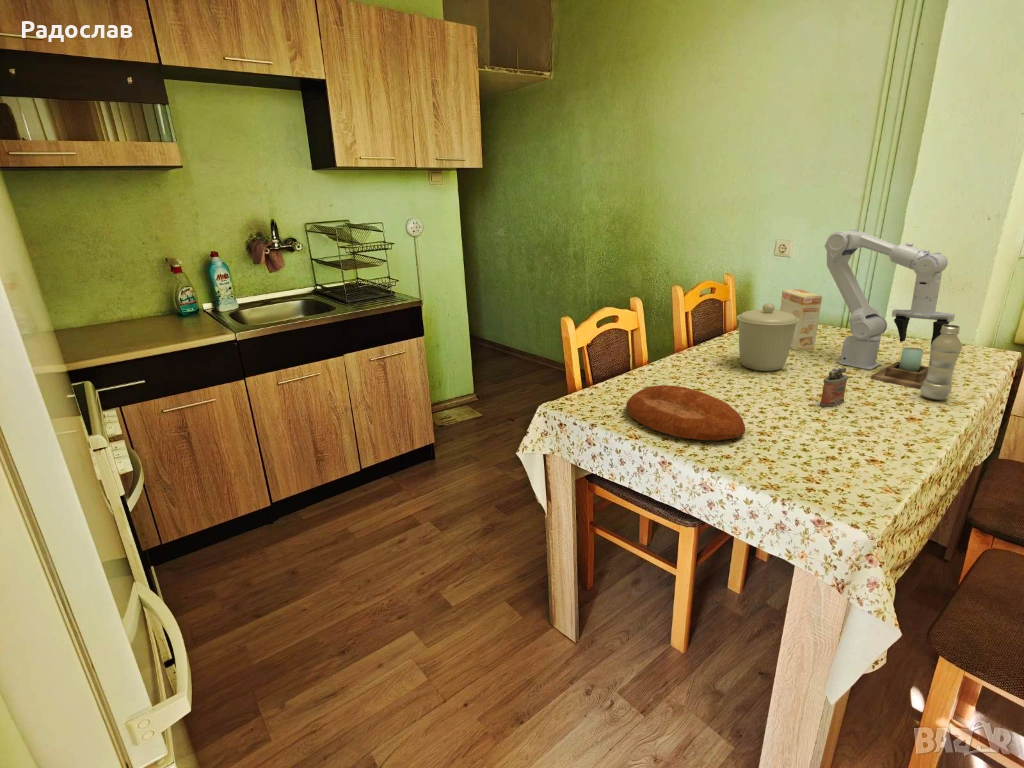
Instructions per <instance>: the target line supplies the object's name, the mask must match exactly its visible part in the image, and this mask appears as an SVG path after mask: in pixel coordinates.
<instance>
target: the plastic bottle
mask: <svg viewBox="0 0 1024 768" xmlns="http://www.w3.org/2000/svg"><path fill="white" fill-rule="evenodd" d="M960 329H961V327H960V326H959V325H956V324H948V325H942V328H941V331H940V332H941V335H940V336H938V337H937V338H936V339H935V340H934V341H933V342H932V344H931V343H930V351H929V352H930V353H929V360H928V366H927V367H928V370H927V373H926V376H925V379H924V381H923V383H922V385H921V389H920V394H921V396H922V397H924V398H926V399H930V400H935V401H944V400H947V399H948V398H949V397H950V395H951V393H952V381H953V375H954V371H955V367H956V364H957V361H958V358H959V356H960V354H961V351H962V350H963V345H962V342H961V340H960V338H959V337H958V335H960Z"/></svg>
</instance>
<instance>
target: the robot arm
mask: <svg viewBox="0 0 1024 768" xmlns="http://www.w3.org/2000/svg"><path fill="white" fill-rule="evenodd" d="M824 248H825V250H826V267H827V268H828V271H829V273H830V275H831V277H832V279H833V281H834V283H835V284H836V287H837V288H838V291H839V292H840V294H841V296H842V299H843V300H844V302H845V304H846V306H847V309H848V310H849V313H850V316H849V319H848V322H849V324H850V333H851V334H852V335H847V336H846V337H845V338H844V341H843V342H842V347H841V352H840V353H841V354H840V359H839V362H838V364H839V365H844V366H849V367H854V368H859V369H862V370H863V369H865V370H870V371H871V370H873V369H875V368H877V367H879V366H881V363H880V362H877V359H878V355H879V350H880V349H879V348H880V344H881V340H882V334H884V333H885V332H886V330H887V329H888V322H887V320H886V319H885V317H883V316H882V315H880V314H879V312H878V310H877V309H875V308H873V307H872V306H871V305H870V303H869V302H868V299H867V297H866V295H865V294H864V292H863V290H862V288H861V286H860V283H859V282H858V280H857V277H856V276H855V274H854V272H853V270H852V268H851V266H850V265H849V261H850V260H851V258H852V256H853V255H854V254H855V252H856V251H857V250H858V249H860V248H864V249H867V250H870V251H873V252H877V253H880V254H882V255H885V256H887V257H889V260H890V262H892V263H893V264H897V265H899V266H902V267H904V268H907V269H909V270H912V271H914V273H915V275H916V277H915V282H914V288H913V295H912V300H911V306H910V309H895V308H894V309H893V310H892V312H891V317H895V318H894V319H893V322H894V323H895V326H896V328H897V331H898V336H899V337H898V338H899V342H900V343H901V342H903V343H904V342H905V341H906V338H907V330H908V327H909V322H910V319H921V320H922V319H923V320H932V321H933V323H932V337H931V340H930V345H931V344H932V342H933V341H934V340H935V339H936V338H937V337H938V336H940V335H941V332H940V331H941V328H942V325H950V323H952V322H954V321H955V316H956V314H955V313H949V312H948V313H947V312H942V311H941V312H940V311H936V309H937V304H938V298H939V294H940V287H941V283H942V281H941V280H942V274H943V271H945V270H946V268H947V267H948V264H949V262H948V258H947V257H946V256H945V255H943V254H942V253H941V252H934V253H933V252H932V253H931V250H930V249H921V248H918V247H915V246H914V243H911V242H907V243H904V242H903V243H900V244H897V245H896V244H893V243H891V242H889V241H886V240H884V239H881V238H879V237H877V236H875V235H872V234H869V233H867V232H865V231H859V230H858V229H849V230H844V231H835V232H833V233H831V234H830V235H829V236H828V237H827V240H826V242H825V244H824Z"/></svg>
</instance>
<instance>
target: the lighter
mask: <svg viewBox="0 0 1024 768" xmlns="http://www.w3.org/2000/svg"><path fill="white" fill-rule="evenodd" d="M847 369H848V368H847V366H846V367H845V366H841V367H838V368H835V367H834V368H832V370H829V371H828V372H829V373H828V376H826V377H824V378H823V387H822V393H821V398H820V399H821V400H820V401H819V407H821V406H822V407H821V408H824V407H831V408H834V407H833V406H835V407H838V406H837V405H839V406H841V405H843V404H844V403H845V399H844V398H845V394H846V386H847V382H848V380H849V375H847V374H844V373H847ZM842 403H843V404H842ZM840 404H841V405H840Z"/></svg>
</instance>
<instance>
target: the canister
mask: <svg viewBox="0 0 1024 768" xmlns="http://www.w3.org/2000/svg"><path fill="white" fill-rule="evenodd" d="M736 319H737V320H738V351H739V354H738V355H739V360H740V363H741V365H742V366H744V367H745V368H747V369H750V370H752V371H759V372H772V371H779V370H780V369H782V368H783V367H785V365H786V363H787V359H788V357H789V353H790V349H791V348H790V346H791V343H792V339H793V335H794V331H795V327H796V323H798V322H799V318H797V317H795V316H794V315H793V314H791V313H788V312H784V311H780V310H778V309H777V310H776V307H775V305H774V304H773V303H769V302H768V303H765V304H763V305H762V309H751V310H747V311H744V312H742V313H740V314H738V315H736Z"/></svg>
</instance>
